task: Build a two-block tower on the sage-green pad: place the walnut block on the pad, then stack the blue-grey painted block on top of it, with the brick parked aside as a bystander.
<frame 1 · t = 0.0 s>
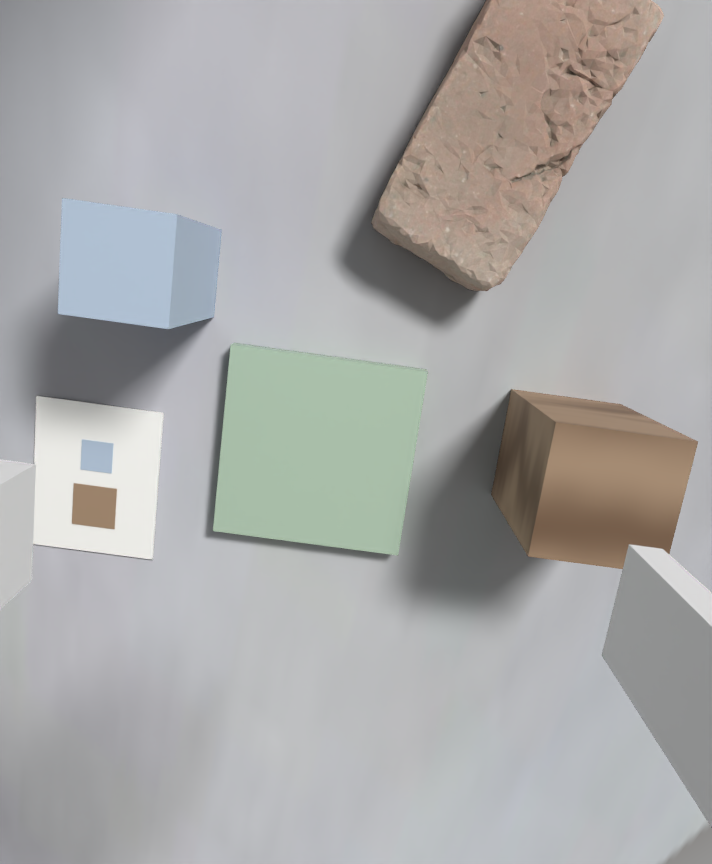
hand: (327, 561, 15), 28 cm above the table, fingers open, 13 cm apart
walnut block: (554, 450, 43), on the table
bluegrey block: (175, 268, 41), on the table
brick: (496, 137, 39), on the table
pad: (318, 449, 43), on the table
instruction page: (96, 479, 44), on the table
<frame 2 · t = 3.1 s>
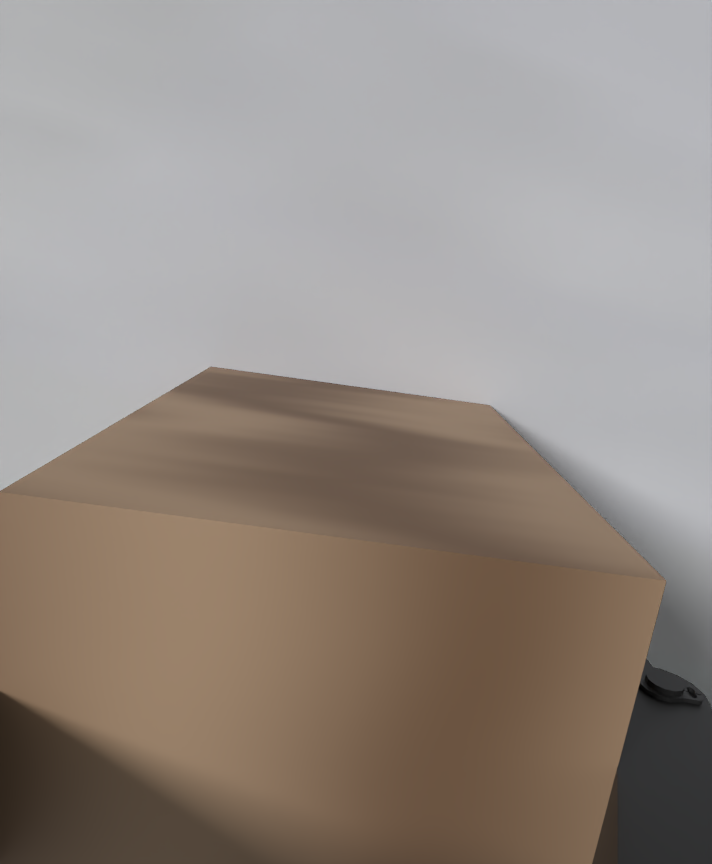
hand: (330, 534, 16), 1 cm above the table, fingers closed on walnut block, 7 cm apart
walnut block: (332, 518, 18), on the table, touching gripper
when the fingers open (4 cm above the table, at t = 9.2 s): walnut block drops 1 cm, resting on pad.
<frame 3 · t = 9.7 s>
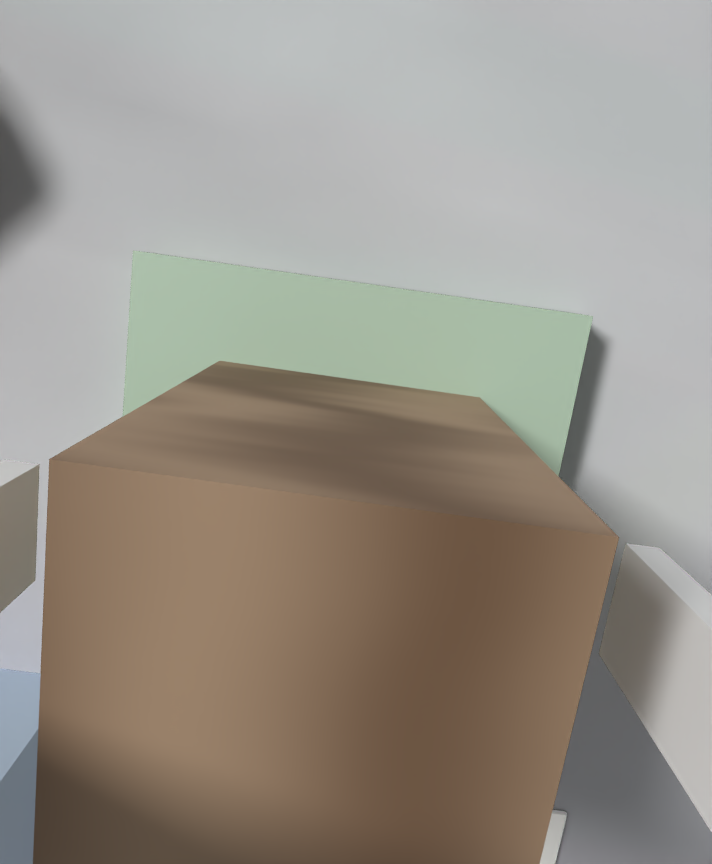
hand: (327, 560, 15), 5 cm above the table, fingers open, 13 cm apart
walnut block: (332, 502, 19), point 1 cm above the table, touching pad
pad: (336, 489, 20), on the table
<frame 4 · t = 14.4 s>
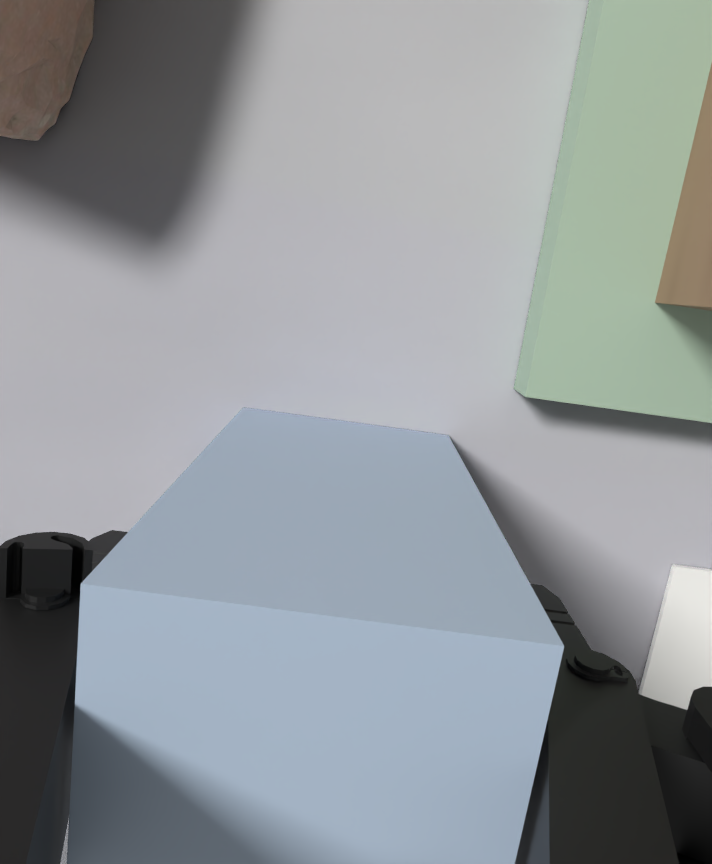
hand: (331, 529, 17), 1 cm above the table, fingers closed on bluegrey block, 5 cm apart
bluegrey block: (332, 518, 18), on the table, touching gripper
when the fingers open (13 cm above the table, at t = 20.5 s): bluegrey block drops 1 cm, resting on walnut block.
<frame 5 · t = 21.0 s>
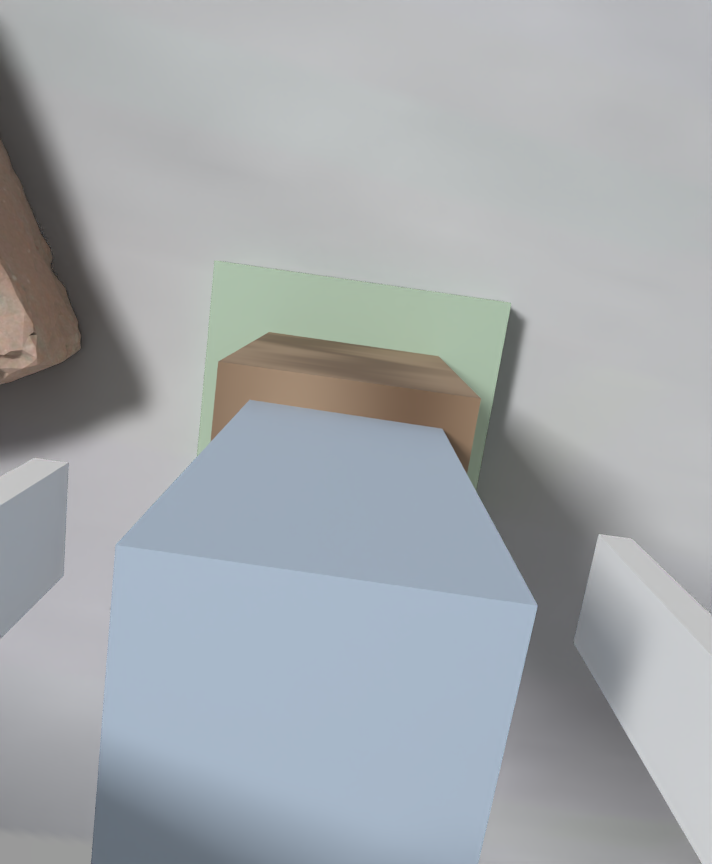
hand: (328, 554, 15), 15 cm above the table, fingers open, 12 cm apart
walnut block: (342, 426, 28), point 1 cm above the table, touching bluegrey block, pad
bluegrey block: (332, 505, 19), point 11 cm above the table, touching walnut block
pad: (344, 420, 29), on the table
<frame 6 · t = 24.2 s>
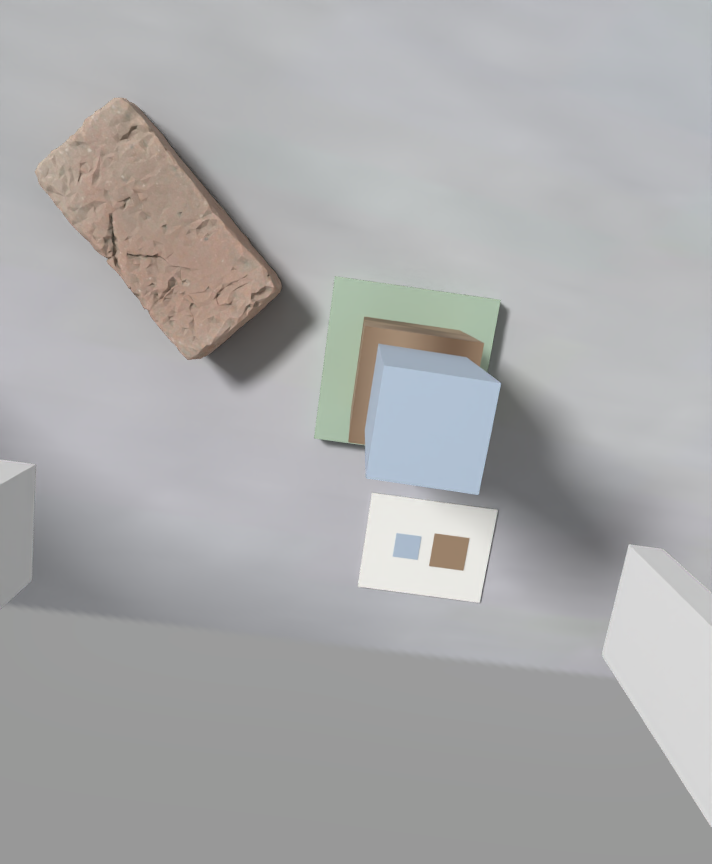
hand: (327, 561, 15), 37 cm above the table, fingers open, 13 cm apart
walnut block: (404, 370, 50), point 1 cm above the table, touching bluegrey block, pad
bluegrey block: (414, 393, 40), point 11 cm above the table, touching walnut block
brick: (172, 235, 49), on the table
pad: (404, 368, 51), on the table
instruction page: (426, 548, 54), on the table
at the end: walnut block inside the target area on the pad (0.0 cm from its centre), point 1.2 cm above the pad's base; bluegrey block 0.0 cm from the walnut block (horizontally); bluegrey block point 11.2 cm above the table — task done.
